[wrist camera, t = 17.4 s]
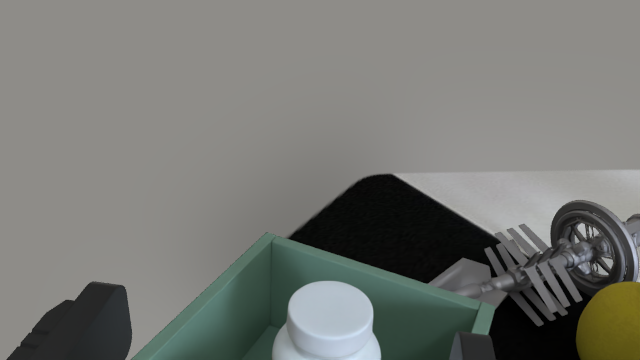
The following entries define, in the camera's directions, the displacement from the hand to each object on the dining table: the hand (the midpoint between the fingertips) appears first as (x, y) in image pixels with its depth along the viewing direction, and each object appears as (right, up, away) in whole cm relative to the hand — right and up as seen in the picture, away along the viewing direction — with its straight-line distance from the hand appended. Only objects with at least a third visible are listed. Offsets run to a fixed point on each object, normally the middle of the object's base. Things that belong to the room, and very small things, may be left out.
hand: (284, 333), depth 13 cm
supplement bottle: (+1, -11, +17) cm, 20 cm away
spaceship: (+22, -5, +31) cm, 38 cm away
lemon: (+20, -10, +22) cm, 31 cm away
